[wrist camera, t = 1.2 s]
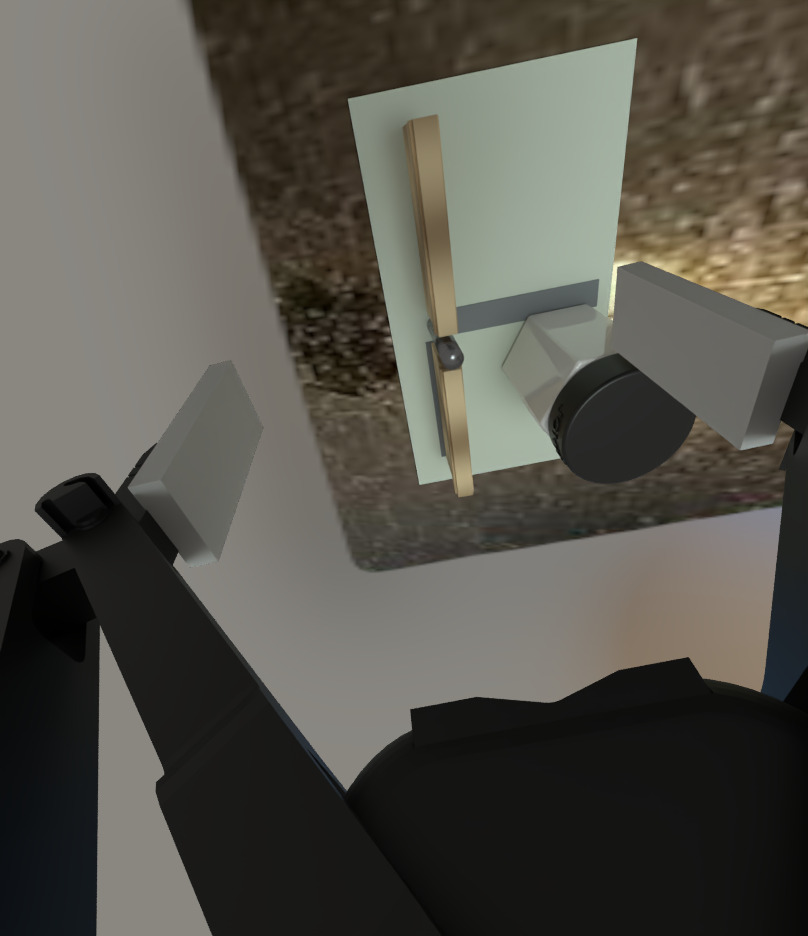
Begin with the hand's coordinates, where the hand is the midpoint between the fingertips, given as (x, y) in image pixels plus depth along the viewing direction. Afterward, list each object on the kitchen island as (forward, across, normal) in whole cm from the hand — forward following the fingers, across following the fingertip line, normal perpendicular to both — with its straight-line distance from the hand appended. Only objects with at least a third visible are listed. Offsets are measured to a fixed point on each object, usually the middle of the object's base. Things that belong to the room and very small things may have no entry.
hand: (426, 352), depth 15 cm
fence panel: (+19, +2, +1) cm, 19 cm away
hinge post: (+19, +2, -6) cm, 20 cm away
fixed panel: (+19, +2, -13) cm, 23 cm away
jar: (+19, +11, -11) cm, 25 cm away
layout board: (+19, +7, -7) cm, 21 cm away
